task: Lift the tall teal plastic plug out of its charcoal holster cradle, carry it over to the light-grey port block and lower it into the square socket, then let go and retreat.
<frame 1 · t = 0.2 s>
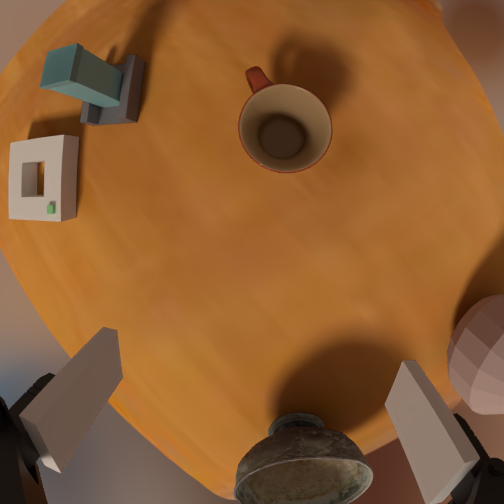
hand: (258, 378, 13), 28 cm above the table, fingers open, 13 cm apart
port: (48, 178, 38), on the table
mug: (275, 129, 36), on the table
vase: (470, 328, 41), on the table
holster: (117, 93, 35), on the table
bowl: (298, 427, 47), on the table
plug: (116, 92, 35), point 1 cm above the table, touching holster
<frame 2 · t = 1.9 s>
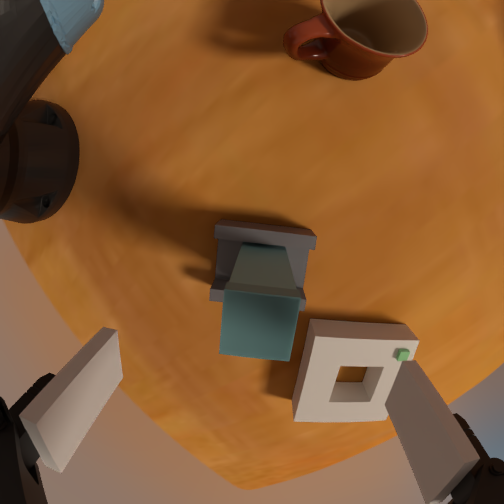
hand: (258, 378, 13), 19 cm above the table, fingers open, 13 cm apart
port: (348, 365, 34), on the table
mug: (333, 57, 26), on the table
holster: (261, 259, 31), on the table
plug: (261, 260, 31), point 1 cm above the table, touching holster
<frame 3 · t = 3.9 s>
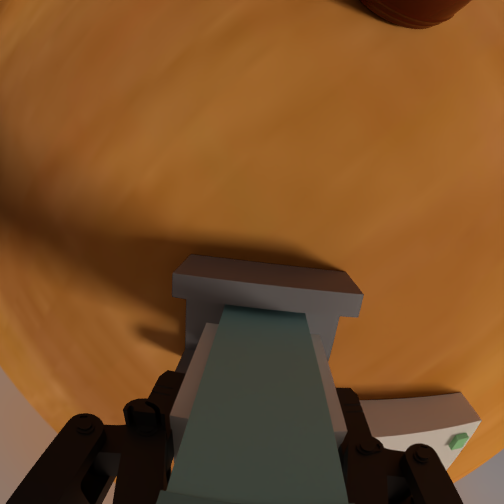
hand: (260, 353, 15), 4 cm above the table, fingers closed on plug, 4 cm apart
port: (380, 447, 21), on the table
holster: (261, 320, 18), on the table
plug: (261, 325, 18), point 1 cm above the table, touching gripper, holster
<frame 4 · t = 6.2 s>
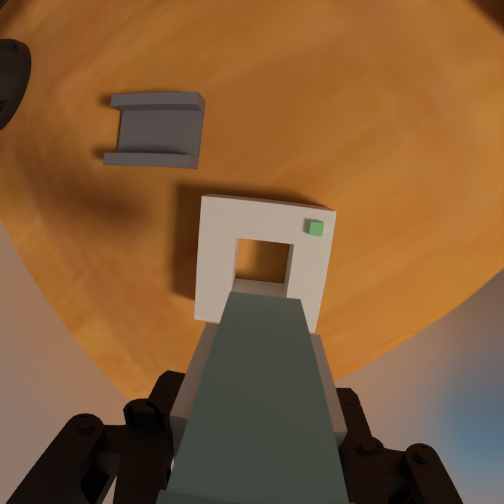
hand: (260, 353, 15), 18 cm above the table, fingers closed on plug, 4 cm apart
port: (262, 257, 32), on the table
holster: (159, 132, 29), on the table
plug: (261, 326, 18), point 15 cm above the table, touching gripper
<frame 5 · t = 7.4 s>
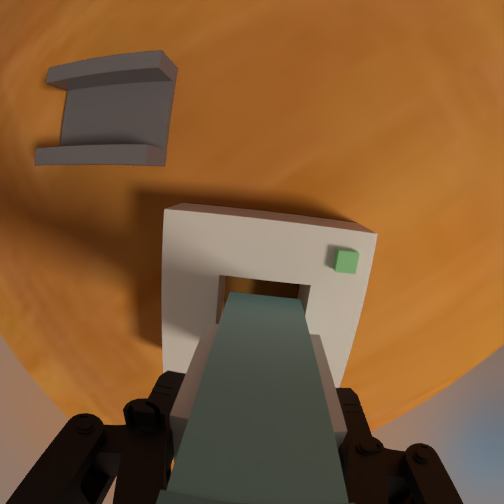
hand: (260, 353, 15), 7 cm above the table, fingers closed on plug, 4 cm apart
port: (261, 296, 22), on the table
holster: (113, 116, 19), on the table
plug: (261, 326, 18), point 4 cm above the table, touching gripper
when the fingers open (5 cm above the table, at t = 8.4 s): plug drops 2 cm, resting in port.
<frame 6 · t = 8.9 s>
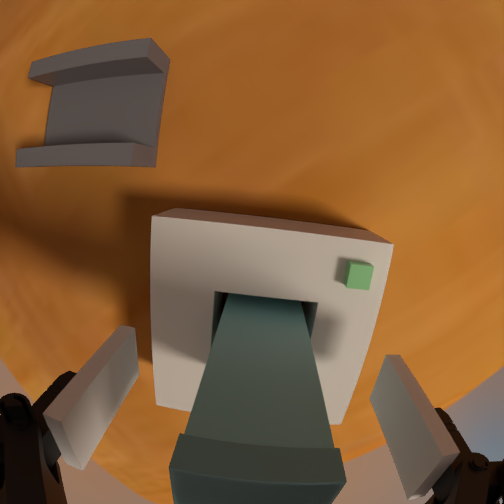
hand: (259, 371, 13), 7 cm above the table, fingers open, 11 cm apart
port: (261, 310, 20), on the table
holster: (100, 113, 17), on the table
plug: (261, 311, 20), resting in port
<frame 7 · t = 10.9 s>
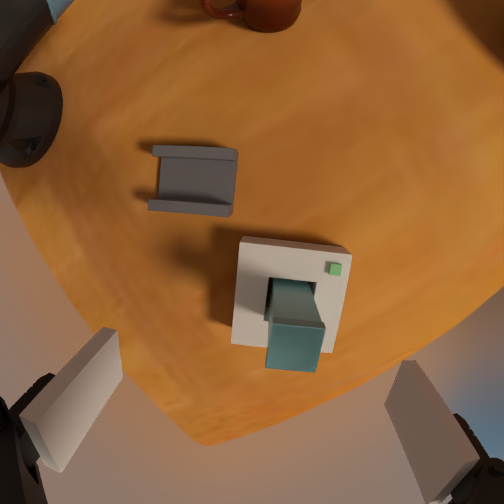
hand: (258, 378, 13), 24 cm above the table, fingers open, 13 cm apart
port: (288, 289, 37), on the table
mug: (258, 18, 30), on the table
holster: (197, 179, 35), on the table
plug: (287, 290, 37), resting in port
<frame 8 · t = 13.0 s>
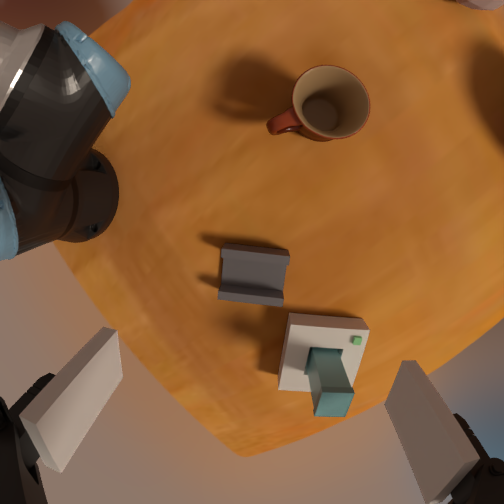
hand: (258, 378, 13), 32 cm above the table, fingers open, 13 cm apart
port: (319, 348, 47), on the table
mug: (306, 122, 39), on the table
holster: (253, 270, 45), on the table
plug: (319, 349, 47), resting in port
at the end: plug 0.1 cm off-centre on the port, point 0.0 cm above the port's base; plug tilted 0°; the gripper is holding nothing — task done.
